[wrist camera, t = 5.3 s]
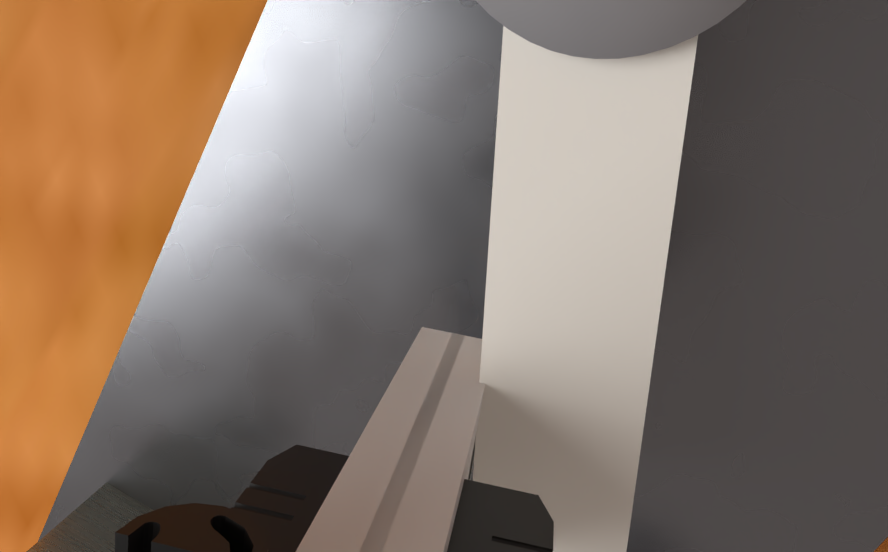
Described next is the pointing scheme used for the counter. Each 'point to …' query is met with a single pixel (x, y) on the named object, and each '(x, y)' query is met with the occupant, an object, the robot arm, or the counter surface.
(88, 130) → the counter surface
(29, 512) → the counter surface
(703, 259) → the level base
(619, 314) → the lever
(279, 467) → the robot arm
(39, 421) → the counter surface
